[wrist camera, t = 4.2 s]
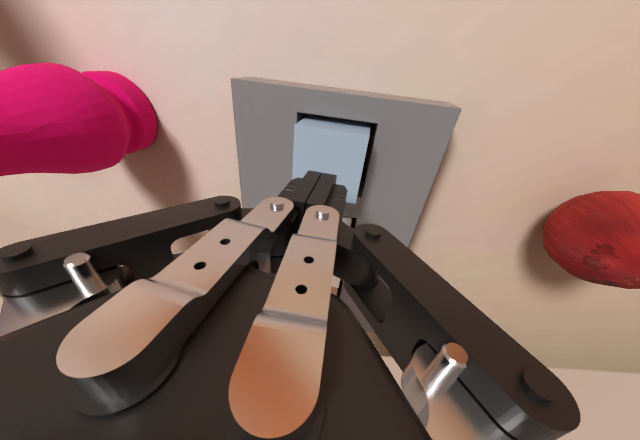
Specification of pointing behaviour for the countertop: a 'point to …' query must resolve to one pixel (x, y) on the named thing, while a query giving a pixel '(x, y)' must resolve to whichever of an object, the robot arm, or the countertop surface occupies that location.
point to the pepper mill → (69, 119)
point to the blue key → (331, 150)
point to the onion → (597, 238)
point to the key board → (384, 159)
